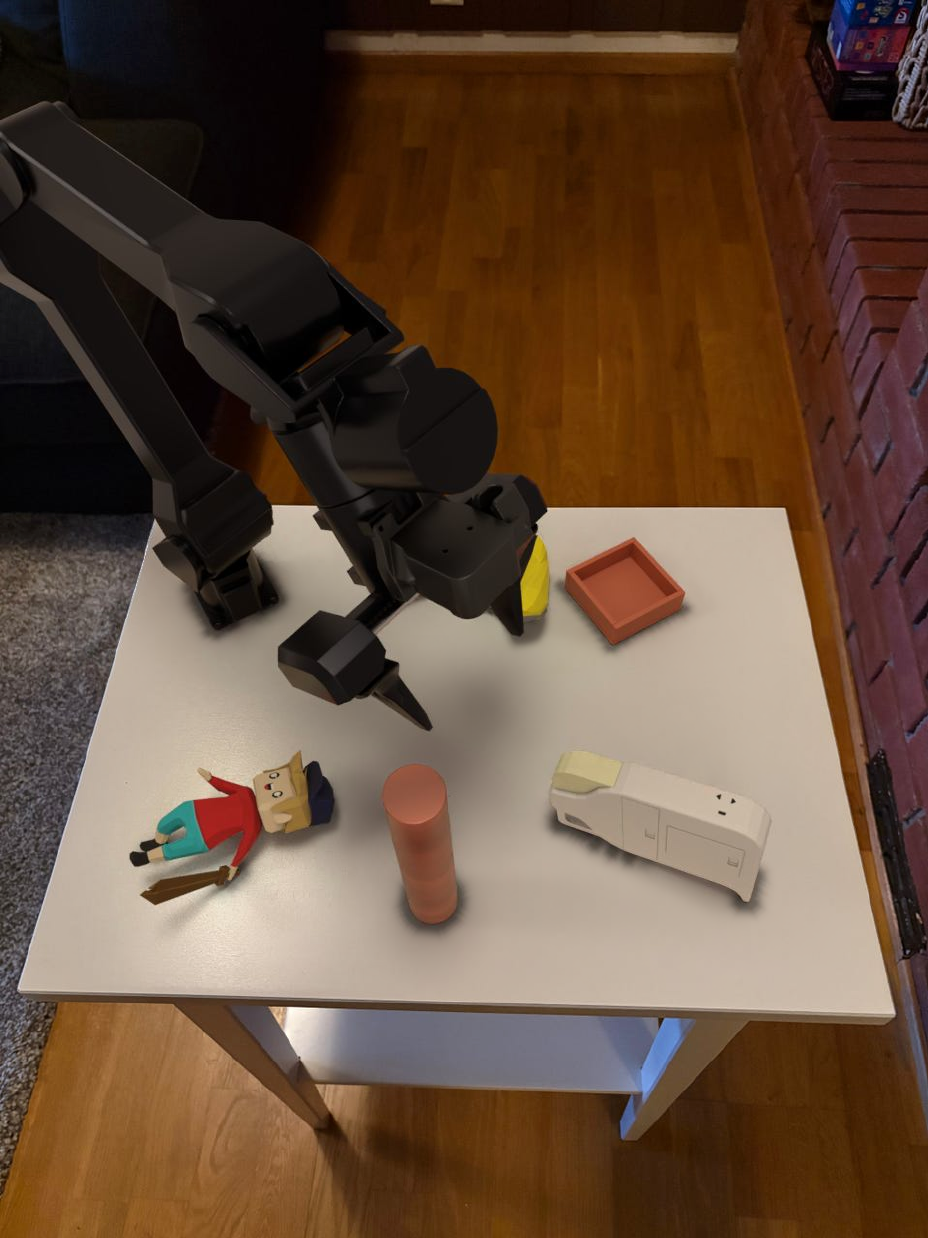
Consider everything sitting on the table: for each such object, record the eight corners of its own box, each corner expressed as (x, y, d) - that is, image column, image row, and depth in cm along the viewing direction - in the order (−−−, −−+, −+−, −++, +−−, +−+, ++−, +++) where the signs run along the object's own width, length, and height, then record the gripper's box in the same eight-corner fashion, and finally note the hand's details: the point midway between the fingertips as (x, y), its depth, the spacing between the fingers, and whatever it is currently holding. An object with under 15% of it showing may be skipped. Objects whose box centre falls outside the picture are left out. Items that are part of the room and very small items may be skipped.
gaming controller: (534, 652, 76) (571, 568, 81) (537, 616, 71) (575, 529, 76) (379, 602, 79) (423, 524, 84) (372, 564, 75) (420, 485, 80)
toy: (111, 786, 63) (313, 723, 66) (139, 826, 68) (325, 766, 71) (126, 904, 57) (346, 828, 60) (155, 938, 62) (356, 867, 65)
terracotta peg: (400, 890, 64) (370, 783, 48) (442, 866, 65) (426, 752, 49) (423, 933, 62) (400, 836, 47) (466, 907, 63) (458, 803, 48)
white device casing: (566, 805, 70) (757, 869, 64) (554, 836, 68) (748, 904, 63) (556, 734, 61) (776, 801, 56) (542, 768, 60) (766, 840, 54)
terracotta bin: (564, 586, 80) (566, 570, 78) (630, 553, 82) (634, 536, 80) (612, 645, 76) (615, 629, 74) (680, 608, 78) (685, 592, 76)
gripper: (313, 602, 39) (460, 826, 46) (563, 384, 47) (652, 606, 54) (208, 575, 47) (348, 768, 55) (435, 393, 55) (529, 585, 63)
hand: (474, 679), depth 57 cm, fingers open, 9 cm apart
